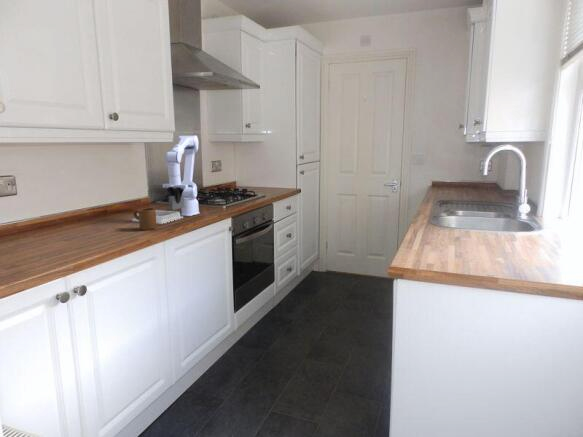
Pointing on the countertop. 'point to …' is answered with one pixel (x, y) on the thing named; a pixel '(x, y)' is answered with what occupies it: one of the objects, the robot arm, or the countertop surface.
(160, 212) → the rack
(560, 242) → the countertop surface
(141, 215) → the mug
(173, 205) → the panel
